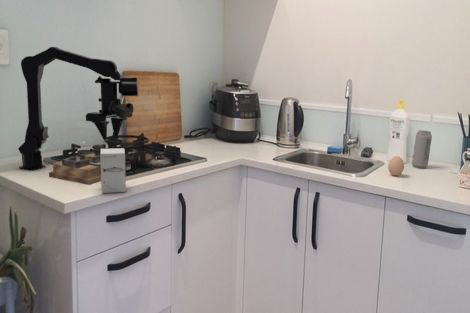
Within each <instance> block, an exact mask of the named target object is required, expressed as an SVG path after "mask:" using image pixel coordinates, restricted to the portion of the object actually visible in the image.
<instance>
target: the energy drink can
mask: <svg viewBox="0 0 470 313" xmlns="http://www.w3.org/2000/svg"><path fill="white" fill-rule="evenodd" d="M432 138H433V135H432V133H431V131H430V130H422V129H420V130H417V132H416V134H415V138H414V139H415V140H414V144H413V154H412V161H411V165H412V167H413V168H415V169H416V168H417V169H427V167H428V166H429V161H430V153H431V152H430V151H431V146H432Z"/></svg>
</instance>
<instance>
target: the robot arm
mask: <svg viewBox="0 0 470 313" xmlns="http://www.w3.org/2000/svg"><path fill="white" fill-rule="evenodd" d="M55 60H58V61H61V62H66V63H69V64H73V65H75V66H78V67H83V68H86V69H89V70H91V71H92V72H94V73H97V74H99V76H98V77H97V79H96V80H94V84H100V98H98V102H100V104H101V105H100V106H101V109H98V112H97V111H95V112H94V111H93V112H87V113H86V114H85V122H91V123H93V124H94V125H95V127H96V128H97V130H98V132H99V134H100V135H101V137H102V139H103V141H104V140H107V138H108V137H107V136H108V135H107V134H108V125H109V123H111V127H112V130H113V136H114V137H115V138H118V137H119V134H120V131H121V127H122V125H123V123H124V122H125V121H126V120H128V118H132V117H133V113H134V104H133V103H131V102H127V103H126V104H125V103H121V102H122V101H121V99H120V98H118V94H121V96H122V97H139V86H138V85H139V84H138V77H136V76H135V77H134V76H133V77H123V76H122V74H121V73H120V72H119V71H118V66H117V64H116V62H114V61H113V60H110V59H109V60H108V59H100V58H92V57H89V56H85V55H81V54H78V53H75V52H72V51H68V50H65V49H62V48H60V47H58V46H50V47H48V48H47V49H45V50H43V51H41V52H39V53H37V54H35V55H29V56H25V57H23V58H22V59H21V61H20V67H21V71H22V74H23V77H24V80H25V82H26V94H27V95H26V98H27V116H28V118H27V119H28V123H27V127H26V130H25V136H24V142H23V143H22V144H21V145H20V146H19V147H18V151H19V153H20V154H21V162H22V164H21V165H20V166H18V168H19V169H22V170H27V171H34V170H38V169H42V168H45V167H46V164H43V157H42V151H41V149H42V146H43V145H44V144H45V143H46V142H47V140H48V138H50V137H49V135H48V131H49V126H45V125H44V124H43V117H42V116H43V115H42V92H41V83H42V78H43V75H44V69H45V66H47V65H49V64H50V63H52V62H54V61H55ZM102 76H103V77H105V78H103V77H102ZM112 79H113V81H112ZM108 118H109V119H110V121H109V120H108Z"/></svg>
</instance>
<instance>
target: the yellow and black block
mask: <svg viewBox="0 0 470 313" xmlns="http://www.w3.org/2000/svg"><path fill="white" fill-rule="evenodd" d="M93 149H94V150H93V151H94V153H92V154H88V155H84V158H85V159H89V161H90V162H93V157H95V156H99V155H100V149H105V145H103V144H94V145H93Z"/></svg>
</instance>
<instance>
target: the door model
mask: <svg viewBox="0 0 470 313" xmlns="http://www.w3.org/2000/svg"><path fill="white" fill-rule="evenodd" d="M92 153H94V150H93V151H90V152H86V153H82V154H79V156H77V157H76V156H71V157H66V158H63V159H61V161H57V162H55V163H54V162H53V163H52V171H49V172H48V178H49V177H50V178H54V179H55V178H56V179H60V180H65V181H70V182H74V183H79V184H85V185H93V184H95V183H98V182H101V163H100V155H99V156H95V157H93V162H90V161H89V159H85V158H84V155H88V154H92Z"/></svg>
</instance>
